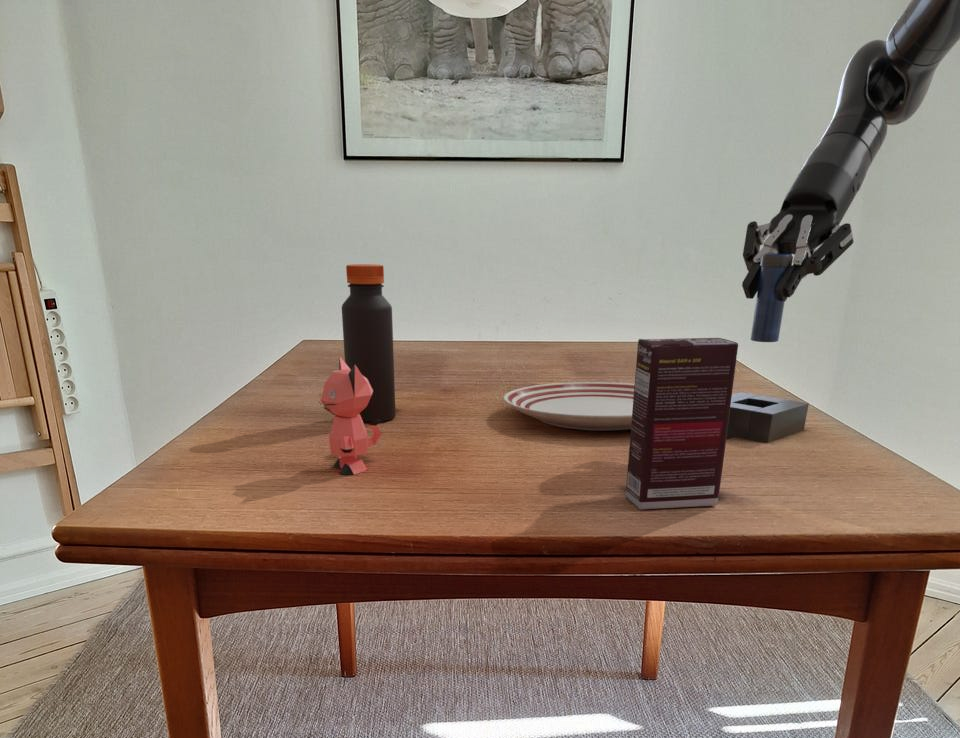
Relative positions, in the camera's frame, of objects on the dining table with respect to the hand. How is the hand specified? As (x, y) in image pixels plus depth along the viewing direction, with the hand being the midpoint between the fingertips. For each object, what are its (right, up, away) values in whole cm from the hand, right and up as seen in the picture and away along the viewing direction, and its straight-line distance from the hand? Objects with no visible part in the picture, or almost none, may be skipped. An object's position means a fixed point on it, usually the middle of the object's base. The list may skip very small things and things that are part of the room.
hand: (763, 294), depth 103 cm
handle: (+1, -4, +4) cm, 6 cm away
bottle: (-50, -11, +17) cm, 54 cm away
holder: (+1, -15, +9) cm, 18 cm away
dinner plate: (-18, -10, +19) cm, 28 cm away
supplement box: (-15, -28, -16) cm, 36 cm away
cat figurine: (-49, -23, -6) cm, 55 cm away
